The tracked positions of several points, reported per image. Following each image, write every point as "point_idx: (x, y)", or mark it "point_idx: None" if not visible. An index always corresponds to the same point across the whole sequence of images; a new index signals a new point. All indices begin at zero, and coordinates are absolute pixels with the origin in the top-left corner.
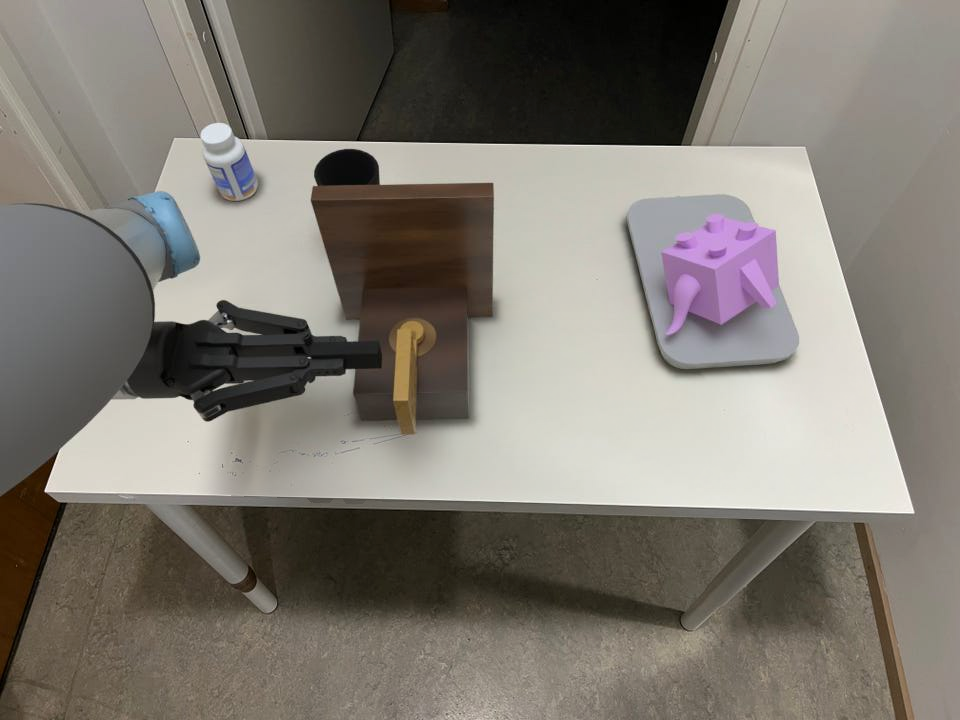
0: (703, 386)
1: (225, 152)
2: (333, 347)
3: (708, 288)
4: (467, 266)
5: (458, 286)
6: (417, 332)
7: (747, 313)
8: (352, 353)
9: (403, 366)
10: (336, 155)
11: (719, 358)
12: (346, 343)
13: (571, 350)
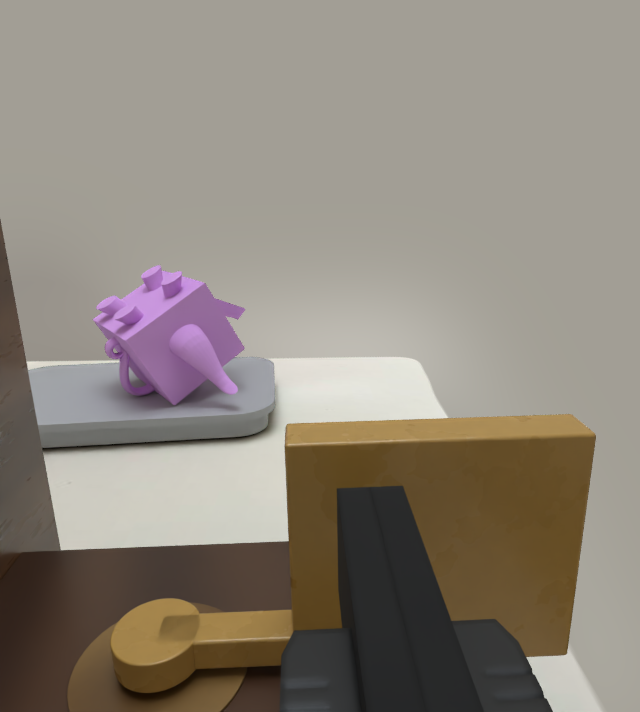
0: (293, 417)
1: None
2: (399, 640)
3: (210, 317)
4: (7, 470)
5: (10, 565)
6: (170, 612)
7: None
8: (421, 556)
9: (448, 425)
10: None
11: (269, 386)
12: (362, 583)
13: (210, 509)
